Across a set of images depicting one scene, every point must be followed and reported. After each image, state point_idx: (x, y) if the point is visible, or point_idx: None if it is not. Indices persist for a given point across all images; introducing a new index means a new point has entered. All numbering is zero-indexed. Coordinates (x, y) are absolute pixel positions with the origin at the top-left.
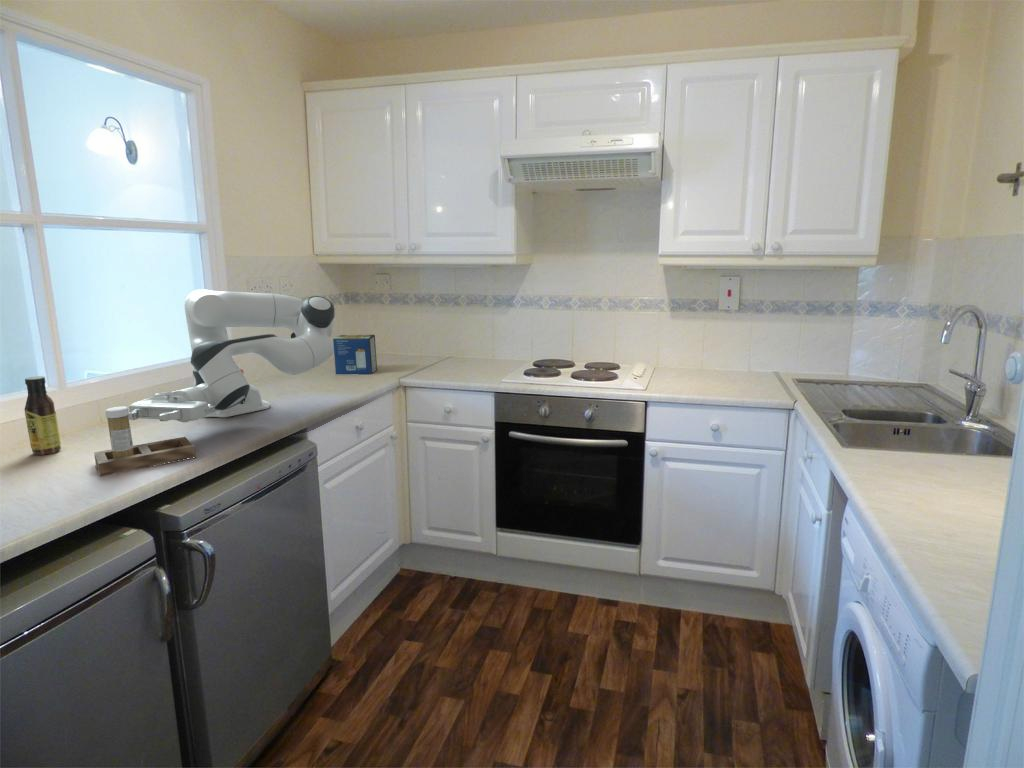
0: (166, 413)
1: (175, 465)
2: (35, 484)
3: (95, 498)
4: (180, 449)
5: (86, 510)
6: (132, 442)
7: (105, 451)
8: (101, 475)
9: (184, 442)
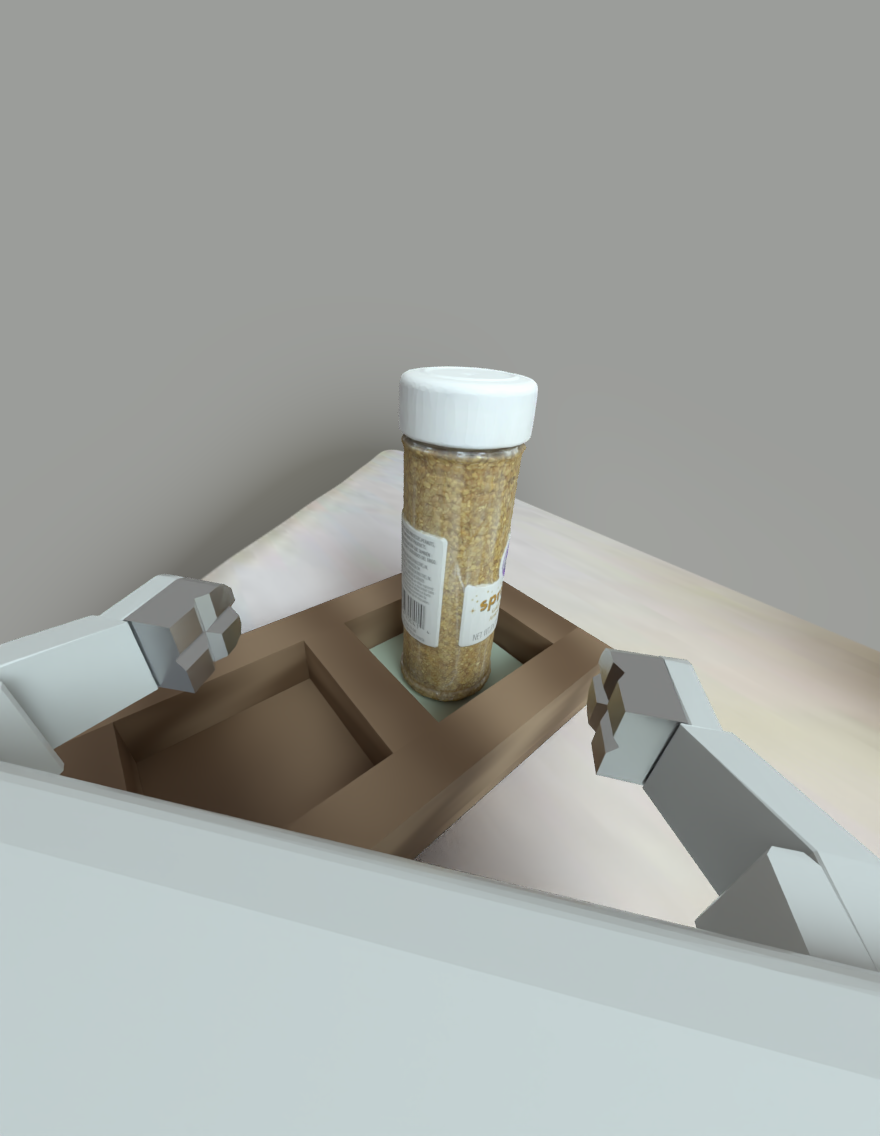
0: (133, 606)
1: None
2: (594, 560)
3: (360, 506)
4: None
5: (345, 482)
6: (407, 608)
7: (568, 659)
8: None
9: None
